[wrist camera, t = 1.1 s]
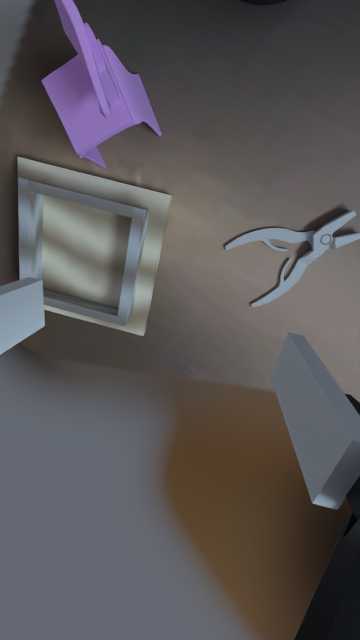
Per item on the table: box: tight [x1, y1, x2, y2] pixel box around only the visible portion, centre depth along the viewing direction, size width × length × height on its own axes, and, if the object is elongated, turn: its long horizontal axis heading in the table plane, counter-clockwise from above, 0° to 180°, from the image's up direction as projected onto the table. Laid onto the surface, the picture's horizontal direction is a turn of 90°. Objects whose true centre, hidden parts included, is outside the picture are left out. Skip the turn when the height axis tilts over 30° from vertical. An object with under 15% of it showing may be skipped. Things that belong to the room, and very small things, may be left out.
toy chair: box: [41, 0, 162, 168], centre depth 23 cm, size 8×9×15 cm
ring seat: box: [18, 157, 172, 336], centre depth 34 cm, size 20×20×4 cm
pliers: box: [225, 210, 360, 307], centre depth 33 cm, size 10×2×15 cm
